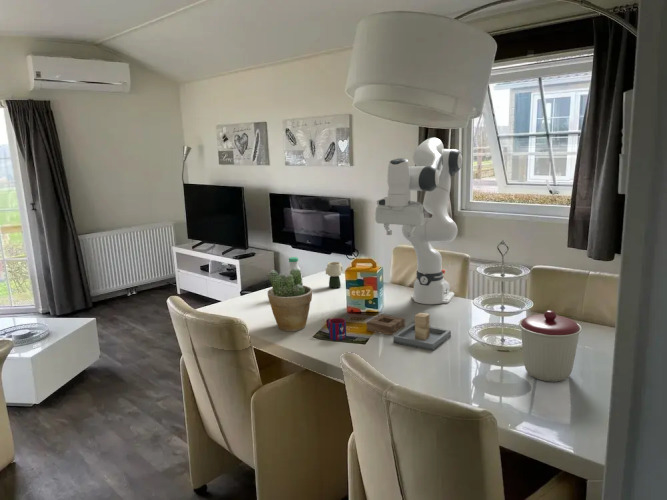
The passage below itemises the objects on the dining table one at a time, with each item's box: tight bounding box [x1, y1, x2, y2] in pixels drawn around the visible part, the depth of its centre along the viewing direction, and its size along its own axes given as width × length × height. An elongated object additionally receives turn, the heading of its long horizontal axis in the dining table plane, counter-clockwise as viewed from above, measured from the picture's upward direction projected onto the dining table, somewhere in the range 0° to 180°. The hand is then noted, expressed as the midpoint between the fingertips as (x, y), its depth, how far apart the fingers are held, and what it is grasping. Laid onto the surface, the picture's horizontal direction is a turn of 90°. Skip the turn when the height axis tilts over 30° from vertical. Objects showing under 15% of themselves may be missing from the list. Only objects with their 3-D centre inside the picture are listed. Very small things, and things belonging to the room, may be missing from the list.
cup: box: [325, 317, 347, 341], centre depth 205 cm, size 7×10×7 cm
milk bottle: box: [286, 256, 303, 284], centre depth 258 cm, size 8×8×20 cm
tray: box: [392, 323, 452, 352], centre depth 198 cm, size 16×16×2 cm
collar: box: [366, 313, 406, 336], centre depth 211 cm, size 11×11×4 cm
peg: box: [414, 312, 430, 340], centre depth 197 cm, size 4×4×9 cm
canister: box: [518, 309, 583, 383], centre depth 163 cm, size 18×18×21 cm
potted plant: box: [266, 268, 313, 332], centre depth 216 cm, size 18×19×25 cm
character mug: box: [325, 261, 344, 288], centre depth 274 cm, size 11×7×13 cm, turn 128°
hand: (399, 235), depth 208 cm, fingers open, 8 cm apart
